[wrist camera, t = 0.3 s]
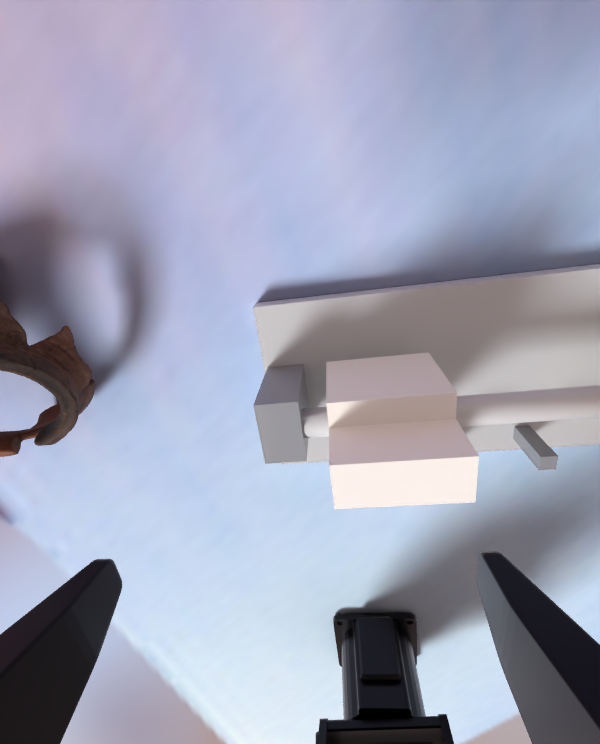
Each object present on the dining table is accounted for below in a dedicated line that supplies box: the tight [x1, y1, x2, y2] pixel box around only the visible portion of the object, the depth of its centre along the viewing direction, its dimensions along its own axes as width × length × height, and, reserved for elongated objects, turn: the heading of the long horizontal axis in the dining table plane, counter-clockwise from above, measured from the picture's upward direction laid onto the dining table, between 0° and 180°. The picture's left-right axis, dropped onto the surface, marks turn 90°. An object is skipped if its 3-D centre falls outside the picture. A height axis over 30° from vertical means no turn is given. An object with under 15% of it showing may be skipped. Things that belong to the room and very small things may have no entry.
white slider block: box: [326, 352, 479, 509], centre depth 16 cm, size 5×4×7 cm
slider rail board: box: [253, 264, 600, 470], centre depth 17 cm, size 22×10×7 cm, turn 98°
